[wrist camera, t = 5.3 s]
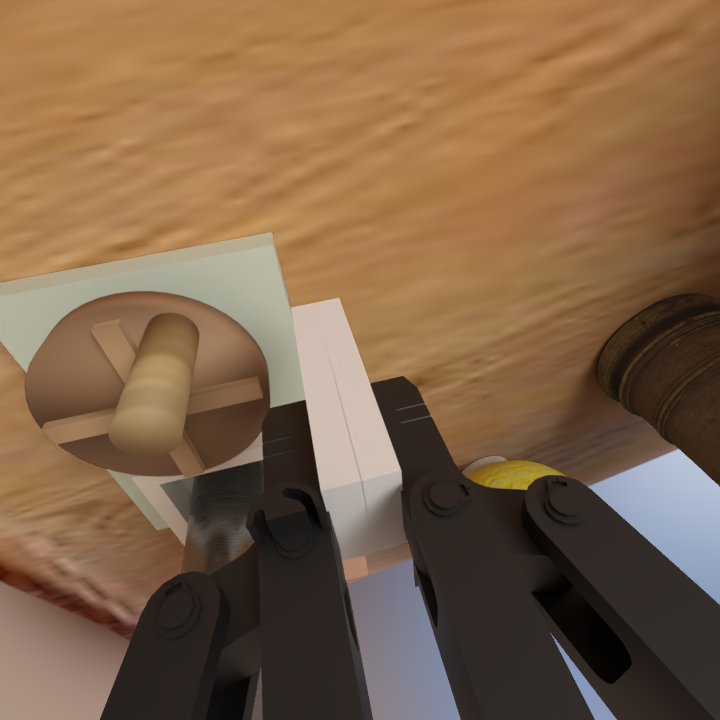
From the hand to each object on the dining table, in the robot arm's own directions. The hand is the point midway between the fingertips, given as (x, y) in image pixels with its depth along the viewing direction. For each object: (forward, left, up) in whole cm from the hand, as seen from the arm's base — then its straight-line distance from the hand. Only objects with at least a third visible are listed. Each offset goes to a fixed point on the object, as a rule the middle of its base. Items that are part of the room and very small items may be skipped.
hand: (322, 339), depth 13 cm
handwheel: (+3, -7, -4) cm, 9 cm away
